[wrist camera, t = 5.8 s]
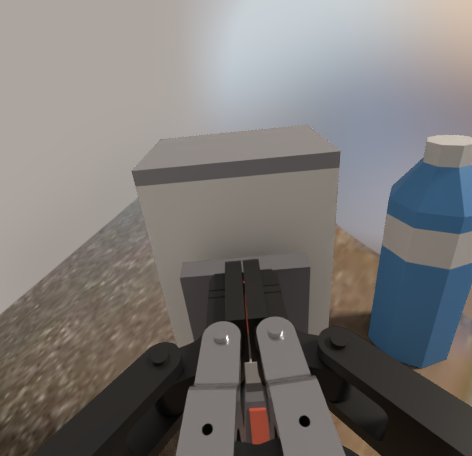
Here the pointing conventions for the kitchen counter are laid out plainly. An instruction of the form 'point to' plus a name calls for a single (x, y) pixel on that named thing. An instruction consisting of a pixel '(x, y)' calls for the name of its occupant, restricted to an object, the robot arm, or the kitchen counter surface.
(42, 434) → the kitchen counter surface
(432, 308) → the water bottle
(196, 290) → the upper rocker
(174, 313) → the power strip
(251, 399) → the lower rocker
